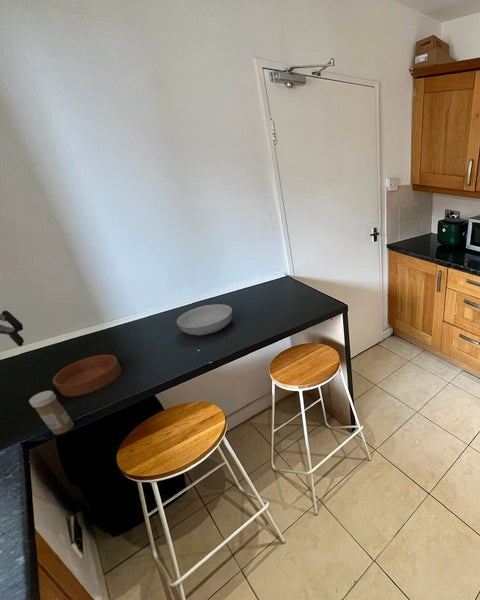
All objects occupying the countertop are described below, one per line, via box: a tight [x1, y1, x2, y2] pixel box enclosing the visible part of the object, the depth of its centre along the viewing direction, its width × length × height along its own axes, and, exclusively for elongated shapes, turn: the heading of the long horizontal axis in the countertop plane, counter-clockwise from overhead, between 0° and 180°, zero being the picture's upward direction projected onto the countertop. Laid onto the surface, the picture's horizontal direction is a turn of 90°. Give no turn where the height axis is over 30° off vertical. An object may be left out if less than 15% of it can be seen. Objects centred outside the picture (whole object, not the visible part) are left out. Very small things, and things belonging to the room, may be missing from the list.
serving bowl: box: [176, 303, 233, 336], centre depth 136 cm, size 21×21×7 cm
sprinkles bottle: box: [28, 390, 75, 435], centre depth 86 cm, size 5×5×13 cm
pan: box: [52, 354, 123, 397], centre depth 107 cm, size 16×16×4 cm
